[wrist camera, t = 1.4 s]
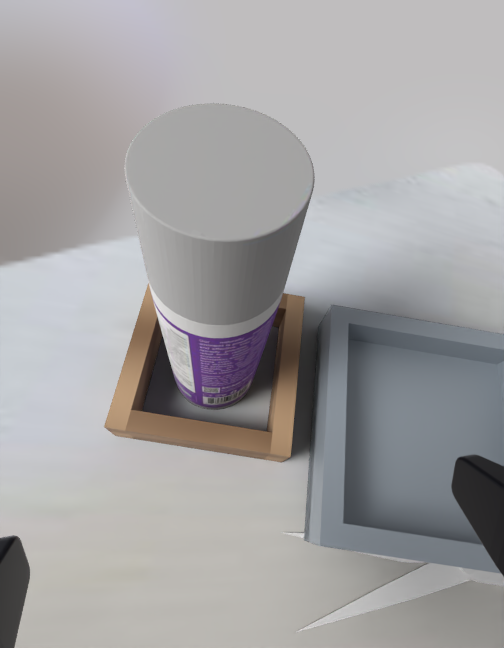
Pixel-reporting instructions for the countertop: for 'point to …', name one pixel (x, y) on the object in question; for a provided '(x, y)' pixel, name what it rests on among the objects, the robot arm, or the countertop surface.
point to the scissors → (408, 587)
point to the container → (217, 237)
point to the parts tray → (400, 434)
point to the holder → (200, 434)
